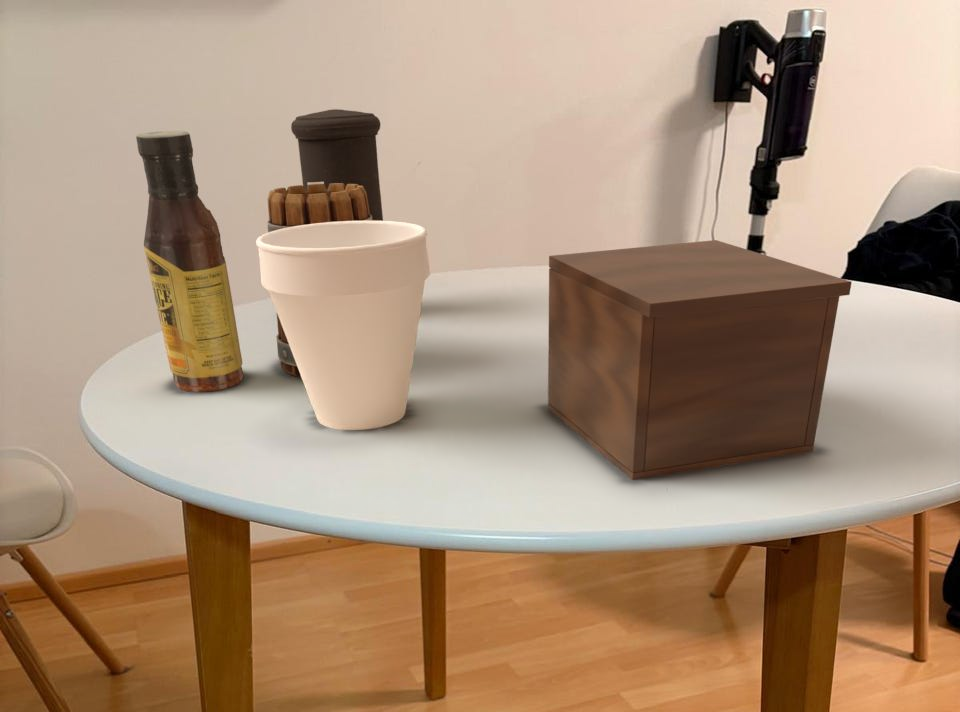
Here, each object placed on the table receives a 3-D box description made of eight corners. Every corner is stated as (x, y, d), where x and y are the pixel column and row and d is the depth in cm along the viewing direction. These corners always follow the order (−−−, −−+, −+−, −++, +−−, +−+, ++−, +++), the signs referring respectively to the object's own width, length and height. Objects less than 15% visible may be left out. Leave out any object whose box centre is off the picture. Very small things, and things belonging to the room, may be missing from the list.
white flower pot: (263, 412, 74) (233, 232, 67) (399, 385, 79) (384, 214, 72) (316, 459, 65) (288, 256, 58) (466, 425, 70) (458, 234, 63)
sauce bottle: (174, 380, 83) (121, 131, 72) (244, 372, 84) (201, 127, 74) (174, 401, 78) (117, 137, 67) (249, 392, 79) (204, 132, 68)
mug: (398, 378, 81) (383, 192, 73) (279, 387, 80) (250, 200, 72) (385, 335, 94) (371, 173, 86) (282, 342, 93) (258, 179, 85)
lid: (849, 295, 56) (852, 281, 56) (649, 318, 53) (650, 303, 53) (715, 251, 70) (716, 239, 69) (548, 267, 66) (548, 255, 66)
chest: (812, 455, 63) (840, 292, 57) (632, 484, 60) (642, 314, 54) (701, 391, 75) (715, 251, 70) (547, 412, 72) (548, 268, 66)
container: (316, 308, 105) (292, 109, 95) (394, 304, 106) (378, 105, 95) (313, 327, 98) (286, 113, 87) (396, 322, 99) (379, 109, 88)
